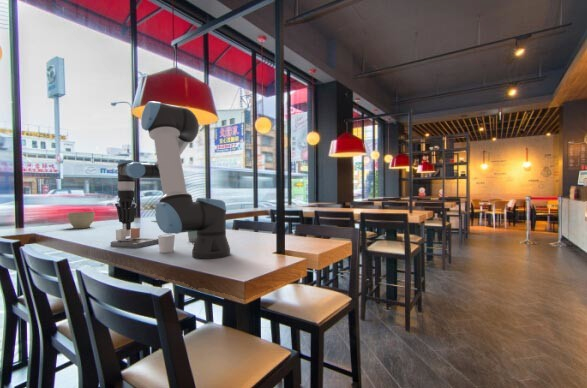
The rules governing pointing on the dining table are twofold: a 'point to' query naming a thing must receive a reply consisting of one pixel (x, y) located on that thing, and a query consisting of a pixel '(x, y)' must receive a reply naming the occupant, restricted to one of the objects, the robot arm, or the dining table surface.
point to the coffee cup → (192, 236)
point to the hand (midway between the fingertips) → (126, 236)
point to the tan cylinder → (135, 232)
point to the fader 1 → (121, 234)
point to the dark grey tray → (134, 242)
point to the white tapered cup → (166, 243)
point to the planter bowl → (81, 219)
